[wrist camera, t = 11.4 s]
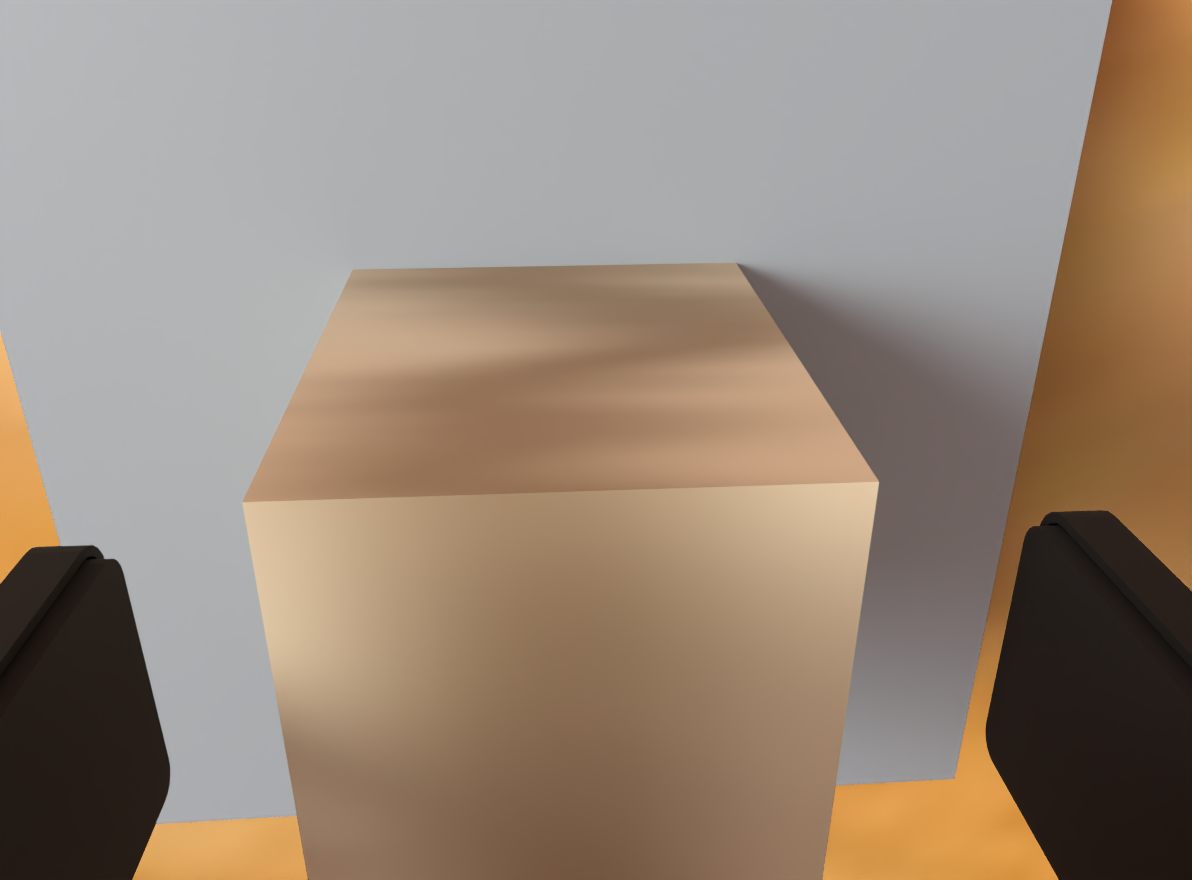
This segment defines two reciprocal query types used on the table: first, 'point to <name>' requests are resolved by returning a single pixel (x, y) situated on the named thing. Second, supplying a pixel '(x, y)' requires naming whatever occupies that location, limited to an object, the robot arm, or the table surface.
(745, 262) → the grey block
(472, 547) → the birch block
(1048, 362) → the table surface
